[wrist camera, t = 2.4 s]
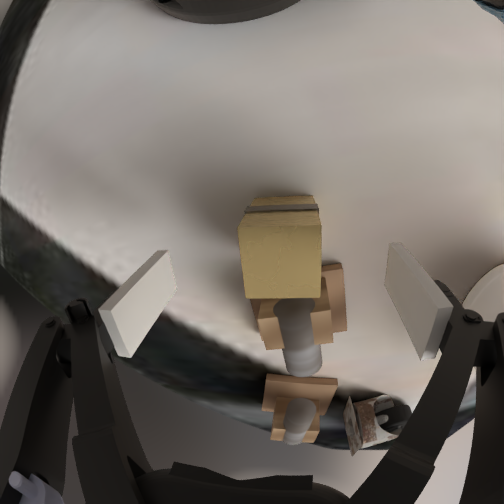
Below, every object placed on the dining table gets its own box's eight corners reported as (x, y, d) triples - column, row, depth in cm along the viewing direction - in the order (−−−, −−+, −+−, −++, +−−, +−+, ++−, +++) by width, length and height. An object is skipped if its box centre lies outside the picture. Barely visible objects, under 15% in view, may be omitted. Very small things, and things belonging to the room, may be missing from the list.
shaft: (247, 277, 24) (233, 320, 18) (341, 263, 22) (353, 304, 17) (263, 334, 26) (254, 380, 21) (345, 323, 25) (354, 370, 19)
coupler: (253, 196, 21) (235, 226, 15) (314, 194, 20) (323, 223, 14) (258, 251, 23) (244, 299, 17) (315, 250, 22) (321, 298, 16)
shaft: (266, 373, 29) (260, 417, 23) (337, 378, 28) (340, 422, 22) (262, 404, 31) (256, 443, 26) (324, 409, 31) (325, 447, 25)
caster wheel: (396, 407, 33) (335, 424, 34) (419, 374, 27) (344, 395, 27) (407, 443, 28) (342, 463, 28) (436, 419, 21) (356, 447, 22)
